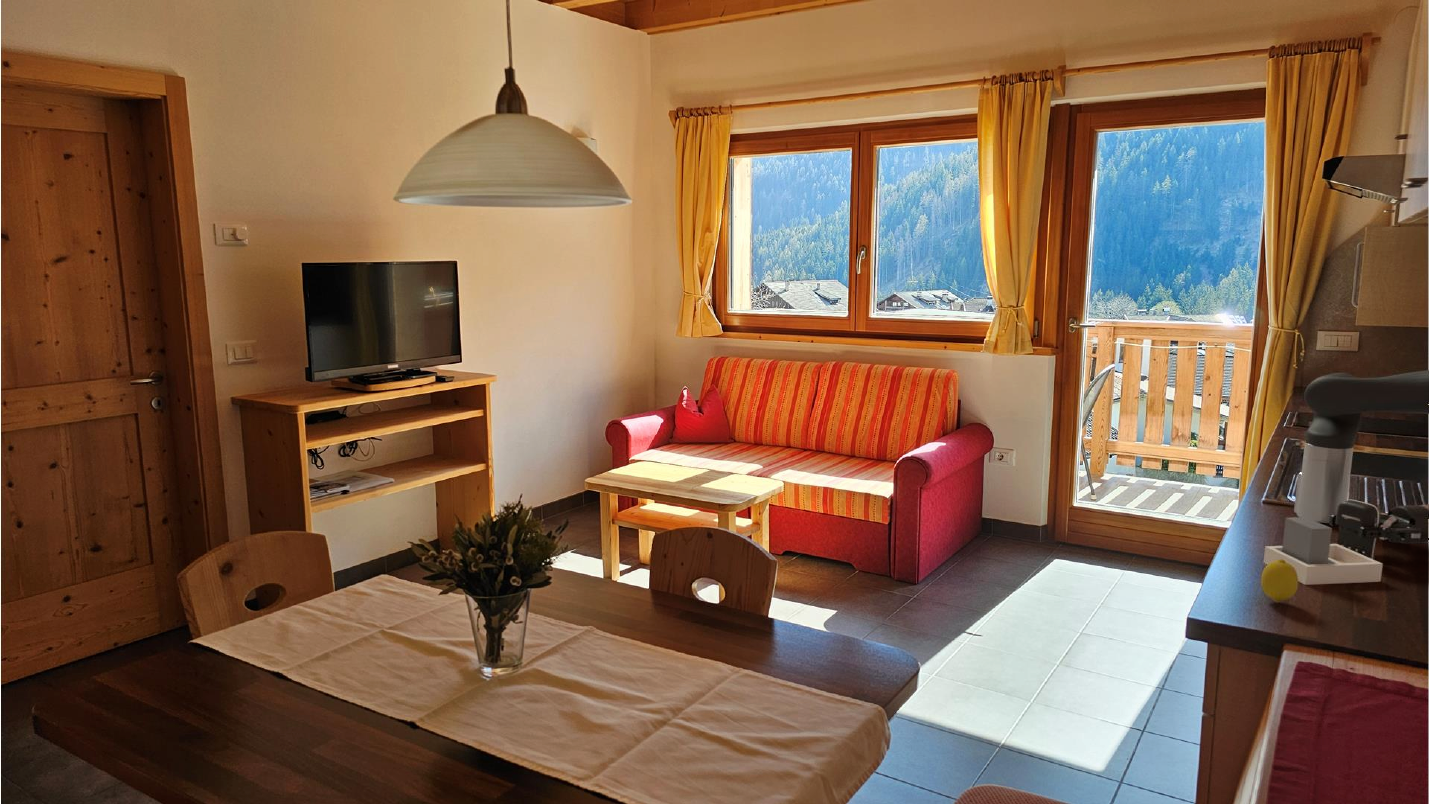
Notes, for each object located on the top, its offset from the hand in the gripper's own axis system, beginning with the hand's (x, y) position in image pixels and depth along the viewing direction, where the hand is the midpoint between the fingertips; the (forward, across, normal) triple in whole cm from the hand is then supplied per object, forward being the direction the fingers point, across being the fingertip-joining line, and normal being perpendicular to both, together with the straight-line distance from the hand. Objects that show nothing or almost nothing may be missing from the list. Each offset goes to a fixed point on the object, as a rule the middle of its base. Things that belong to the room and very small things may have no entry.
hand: (1345, 526), depth 188 cm
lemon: (+29, +20, +7) cm, 36 cm away
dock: (+10, +7, +7) cm, 14 cm away
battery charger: (-2, 0, +7) cm, 7 cm away
